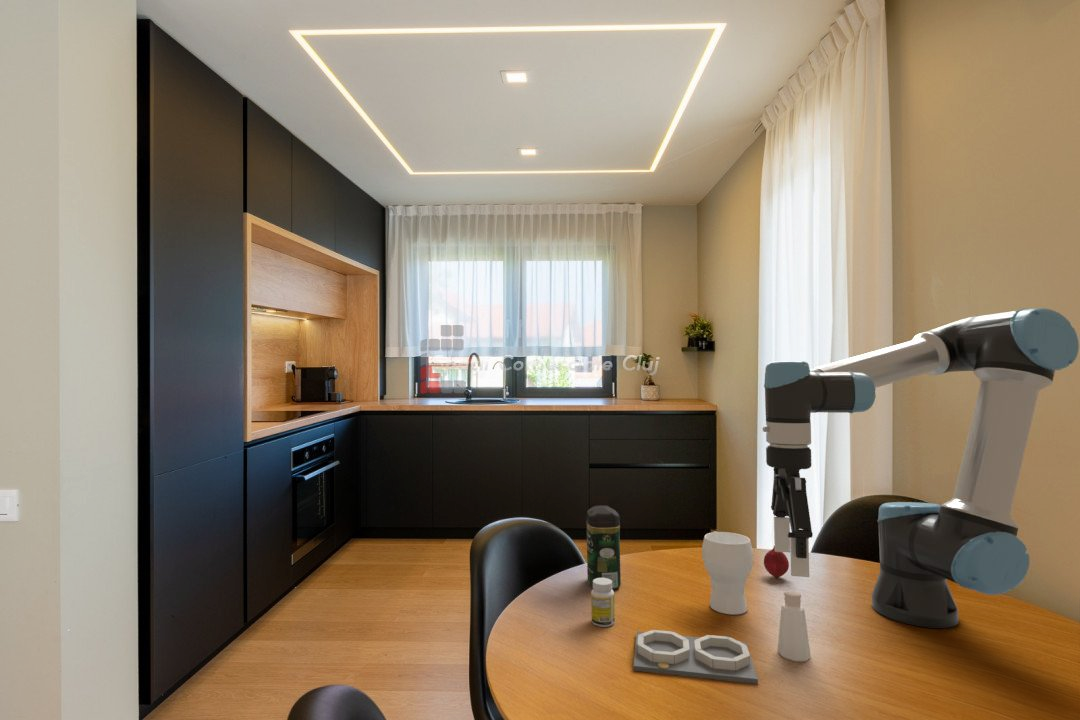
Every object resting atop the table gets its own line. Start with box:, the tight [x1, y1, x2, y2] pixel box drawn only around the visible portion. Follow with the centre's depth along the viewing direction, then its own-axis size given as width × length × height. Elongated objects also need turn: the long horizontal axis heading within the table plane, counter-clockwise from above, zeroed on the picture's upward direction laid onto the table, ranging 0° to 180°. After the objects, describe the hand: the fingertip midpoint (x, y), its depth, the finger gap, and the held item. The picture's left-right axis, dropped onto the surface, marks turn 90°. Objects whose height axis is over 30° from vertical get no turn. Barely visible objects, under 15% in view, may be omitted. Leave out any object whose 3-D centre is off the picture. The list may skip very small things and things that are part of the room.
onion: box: [763, 546, 790, 579], centre depth 135 cm, size 6×6×8 cm
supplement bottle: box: [590, 578, 616, 628], centre depth 111 cm, size 5×5×8 cm
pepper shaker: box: [777, 589, 812, 663], centre depth 97 cm, size 5×5×11 cm
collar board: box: [633, 629, 759, 685], centre depth 96 cm, size 20×13×2 cm, turn 78°
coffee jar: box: [586, 505, 622, 591], centre depth 132 cm, size 10×8×19 cm
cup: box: [701, 531, 754, 615], centre depth 118 cm, size 11×11×15 cm
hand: (790, 563), depth 98 cm, fingers open, 13 cm apart
